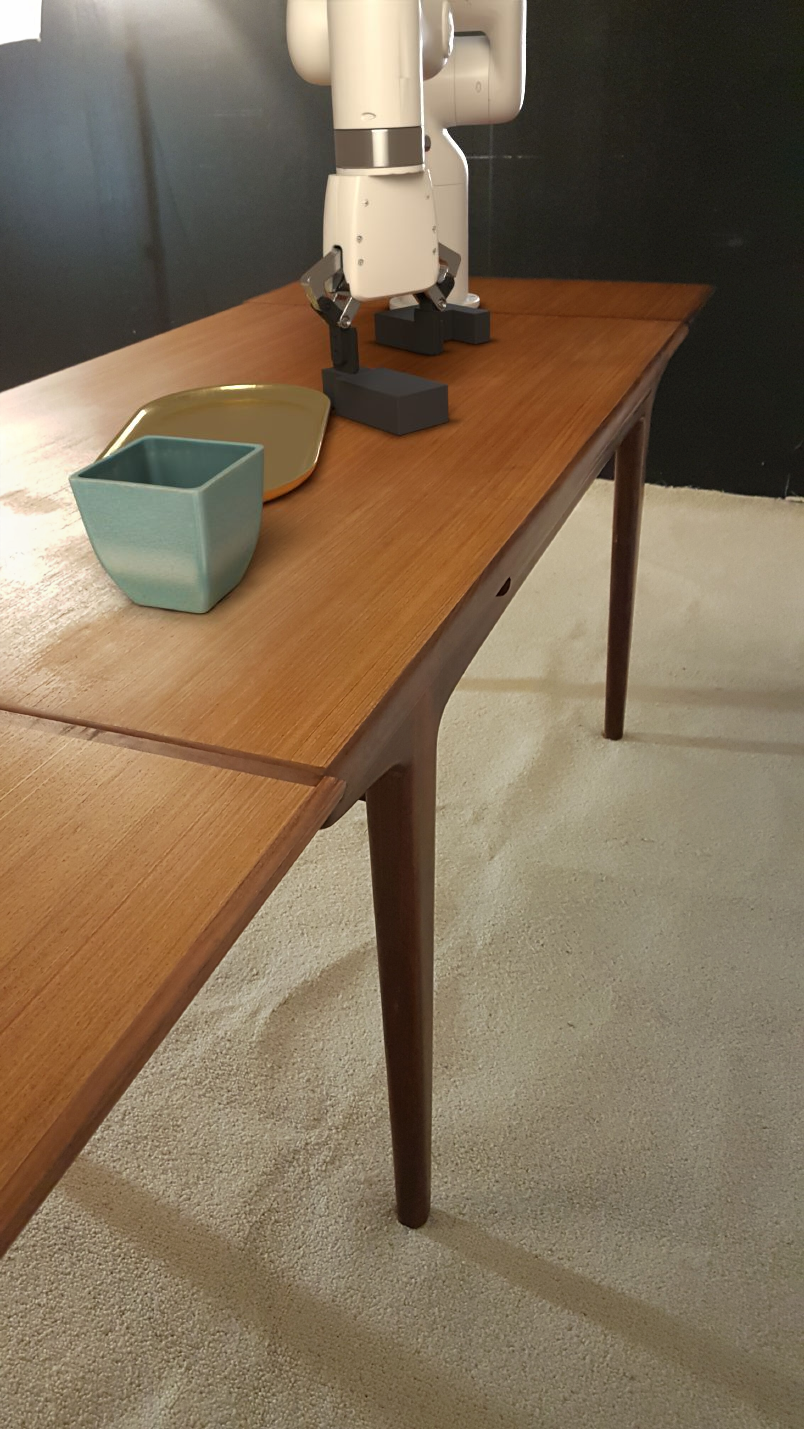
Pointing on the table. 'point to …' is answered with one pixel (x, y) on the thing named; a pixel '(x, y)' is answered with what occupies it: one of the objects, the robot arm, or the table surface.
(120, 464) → the flower pot
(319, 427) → the serving platter
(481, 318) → the notch pad
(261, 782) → the table surface
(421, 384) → the pad
